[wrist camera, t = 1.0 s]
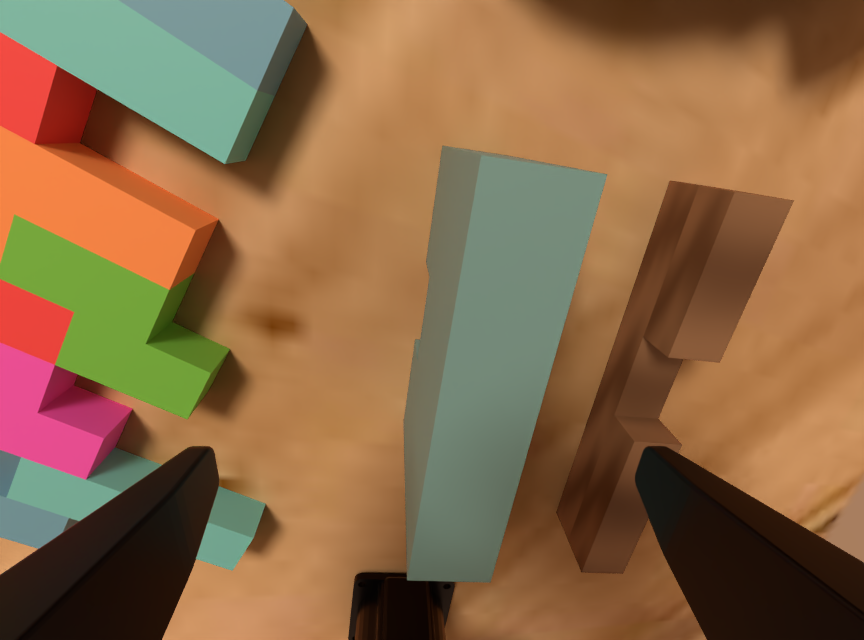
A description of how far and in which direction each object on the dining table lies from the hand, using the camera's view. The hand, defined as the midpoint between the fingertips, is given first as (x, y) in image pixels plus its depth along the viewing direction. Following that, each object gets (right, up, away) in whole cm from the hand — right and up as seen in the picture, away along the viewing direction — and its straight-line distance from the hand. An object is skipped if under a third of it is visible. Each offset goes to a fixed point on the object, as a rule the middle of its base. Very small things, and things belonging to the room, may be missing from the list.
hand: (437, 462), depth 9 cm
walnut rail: (+10, 0, +14) cm, 17 cm away
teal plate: (+1, +4, +12) cm, 12 cm away
